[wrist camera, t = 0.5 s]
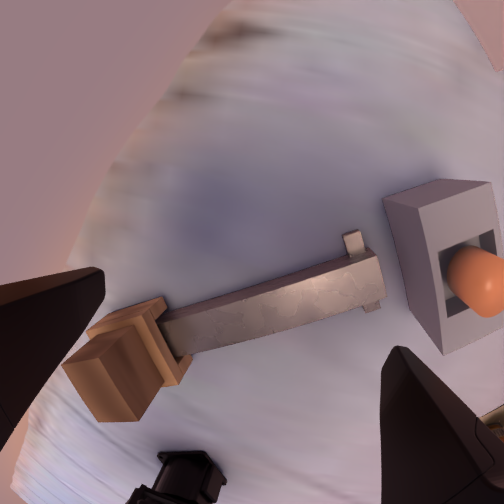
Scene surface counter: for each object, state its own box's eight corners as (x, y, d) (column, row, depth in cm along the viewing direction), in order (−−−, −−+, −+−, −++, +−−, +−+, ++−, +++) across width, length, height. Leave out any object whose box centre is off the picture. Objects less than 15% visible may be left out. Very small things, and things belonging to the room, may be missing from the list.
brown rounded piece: (450, 304, 15) (473, 326, 12) (442, 255, 14) (468, 271, 12) (489, 285, 14) (516, 304, 11) (484, 238, 14) (513, 250, 11)
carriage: (138, 370, 26) (93, 427, 18) (108, 313, 25) (49, 359, 17) (193, 359, 25) (154, 426, 17) (162, 296, 24) (105, 348, 16)
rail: (140, 367, 27) (129, 381, 24) (111, 311, 26) (96, 322, 23) (383, 302, 22) (391, 315, 20) (362, 227, 21) (370, 233, 19)
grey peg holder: (409, 310, 22) (443, 356, 15) (381, 198, 20) (417, 208, 14) (462, 288, 21) (506, 324, 14) (439, 178, 19) (491, 181, 13)
